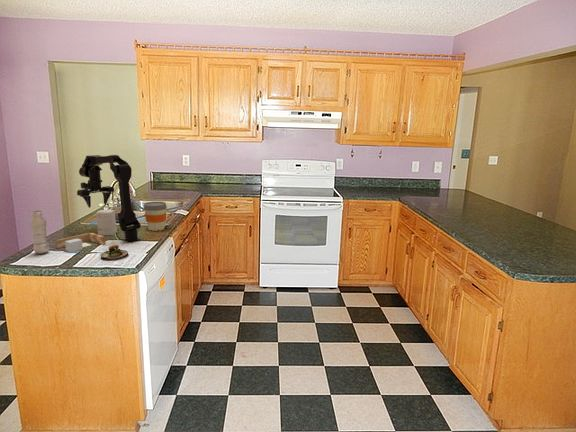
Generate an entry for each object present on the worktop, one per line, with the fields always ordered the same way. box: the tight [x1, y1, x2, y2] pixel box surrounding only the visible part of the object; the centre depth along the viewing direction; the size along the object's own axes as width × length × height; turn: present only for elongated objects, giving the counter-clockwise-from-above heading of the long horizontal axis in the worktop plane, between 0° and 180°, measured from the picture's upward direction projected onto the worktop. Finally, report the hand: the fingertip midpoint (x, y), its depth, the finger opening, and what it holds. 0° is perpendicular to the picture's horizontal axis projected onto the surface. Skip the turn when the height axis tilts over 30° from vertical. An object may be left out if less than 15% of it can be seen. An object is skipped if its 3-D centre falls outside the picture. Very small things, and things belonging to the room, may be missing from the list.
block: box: [65, 239, 84, 253], centre depth 192 cm, size 4×6×5 cm, turn 147°
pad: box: [82, 242, 92, 248], centre depth 200 cm, size 6×6×1 cm
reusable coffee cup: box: [143, 201, 167, 232], centre depth 231 cm, size 13×13×15 cm
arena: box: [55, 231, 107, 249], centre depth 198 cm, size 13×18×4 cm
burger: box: [100, 240, 129, 260], centre depth 184 cm, size 12×12×8 cm
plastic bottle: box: [29, 210, 50, 255], centre depth 185 cm, size 6×7×20 cm
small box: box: [95, 209, 118, 236], centre depth 219 cm, size 8×6×13 cm
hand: (97, 206), depth 221 cm, fingers open, 9 cm apart
